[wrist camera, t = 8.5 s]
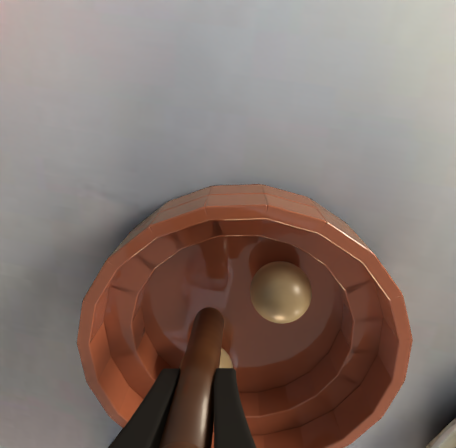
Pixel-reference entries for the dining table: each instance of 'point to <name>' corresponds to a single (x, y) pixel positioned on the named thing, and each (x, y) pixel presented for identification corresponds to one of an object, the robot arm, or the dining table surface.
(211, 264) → the bowl
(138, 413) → the robot arm
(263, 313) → the bead
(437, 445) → the salad plate
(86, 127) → the dining table surface
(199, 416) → the stick
